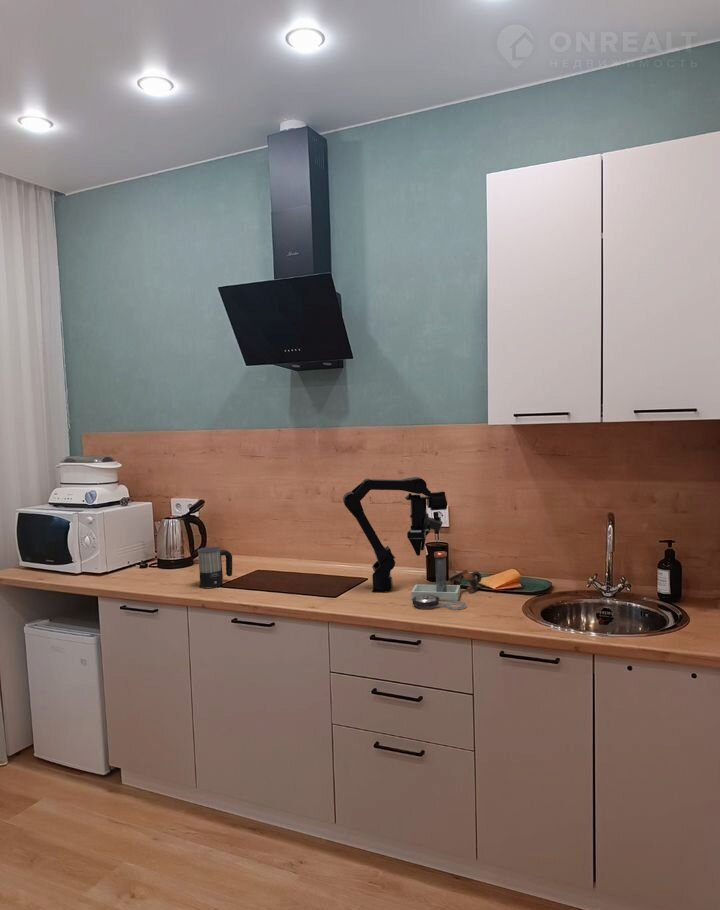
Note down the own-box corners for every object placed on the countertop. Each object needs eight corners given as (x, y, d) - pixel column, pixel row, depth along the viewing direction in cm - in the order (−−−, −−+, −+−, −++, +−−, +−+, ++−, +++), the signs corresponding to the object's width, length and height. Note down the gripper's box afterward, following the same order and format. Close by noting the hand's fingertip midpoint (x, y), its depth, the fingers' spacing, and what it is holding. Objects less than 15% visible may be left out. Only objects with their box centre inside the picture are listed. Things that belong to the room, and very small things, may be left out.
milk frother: (209, 590, 258) (207, 552, 257) (183, 585, 267) (181, 548, 266) (237, 581, 269) (235, 545, 268) (211, 577, 279) (209, 542, 278)
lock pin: (436, 597, 232) (434, 554, 231) (434, 593, 236) (433, 551, 236) (448, 596, 232) (447, 553, 231) (446, 593, 237) (445, 551, 236)
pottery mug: (464, 596, 235) (453, 575, 237) (453, 602, 244) (443, 581, 246) (490, 583, 240) (479, 562, 242) (479, 589, 248) (468, 569, 251)
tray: (411, 600, 232) (411, 591, 232) (416, 592, 242) (415, 584, 241) (457, 601, 228) (457, 592, 228) (460, 593, 238) (460, 585, 238)
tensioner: (411, 609, 222) (411, 599, 221) (415, 601, 230) (415, 592, 230) (465, 610, 217) (464, 601, 217) (467, 603, 226) (466, 593, 225)
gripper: (437, 515, 235) (438, 558, 236) (443, 507, 253) (445, 547, 254) (406, 515, 238) (407, 558, 239) (414, 507, 256) (416, 547, 257)
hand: (420, 552), depth 247 cm, fingers open, 9 cm apart
